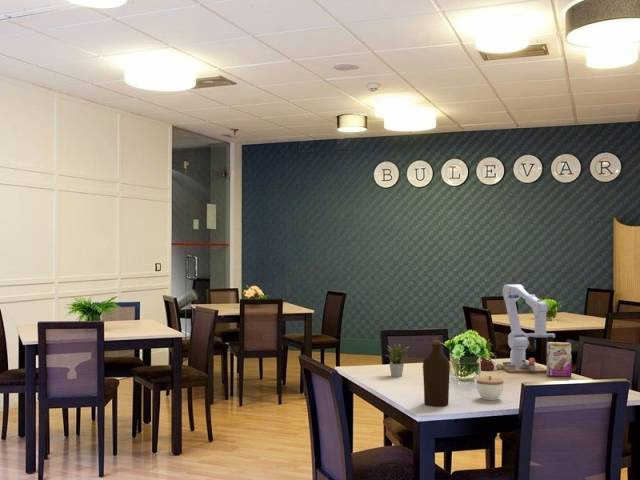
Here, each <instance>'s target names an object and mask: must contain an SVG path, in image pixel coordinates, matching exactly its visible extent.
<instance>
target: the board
mask: <svg viewBox="0 0 640 480" xmlns="http://www.w3.org/2000/svg"><path fill="white" fill-rule="evenodd" d="M501 370H503V371H505V372H506V373H509V374H547V368H544V367H542V366H540V365H539V366H538V365H535V371H530V370H528V369H522V368H520V366H515V364H511V362H510V361H502V369H501Z"/></svg>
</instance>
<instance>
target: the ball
mask: <svg viewBox="0 0 640 480" xmlns="http://www.w3.org/2000/svg"><path fill="white" fill-rule="evenodd" d="M502 366H503V364H502V363H497V364H496V367H495V368H496V369H498V370H503V369H502Z"/></svg>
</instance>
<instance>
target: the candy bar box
mask: <svg viewBox="0 0 640 480" xmlns="http://www.w3.org/2000/svg"><path fill="white" fill-rule="evenodd" d="M572 347H573V345H572V343H570V342H560V341H559V342H557V341H556V342H555V341H553V342H547V351H546V369H547V373H546V375H547V376H548V377H563V378H565V377H567V378H571V377H572V365H573V364H572V362H573V361H572V356H573V355H572V354H573V353H572V351H573V349H572Z"/></svg>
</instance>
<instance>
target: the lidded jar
mask: <svg viewBox="0 0 640 480" xmlns="http://www.w3.org/2000/svg"><path fill="white" fill-rule="evenodd" d="M476 389H477V393H478V395H479V396H480V397H481V399H482V400H485V401H497V400H498V399H499V398H500V397H501V395H502V393H503V390H504V380H503V379H501V378H496V377H492V376H491V375H488V377H478V378H477V379H476Z"/></svg>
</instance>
